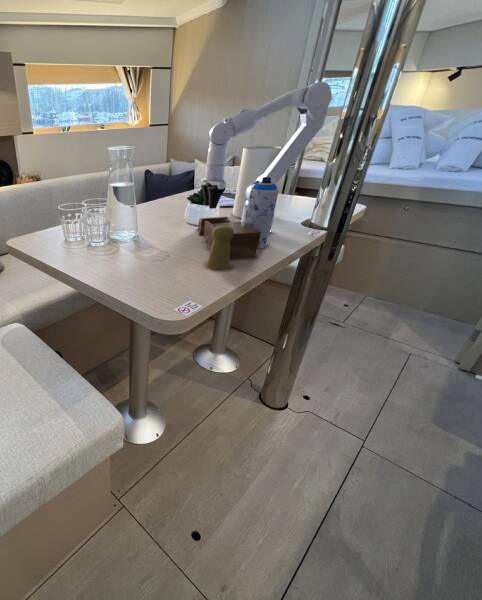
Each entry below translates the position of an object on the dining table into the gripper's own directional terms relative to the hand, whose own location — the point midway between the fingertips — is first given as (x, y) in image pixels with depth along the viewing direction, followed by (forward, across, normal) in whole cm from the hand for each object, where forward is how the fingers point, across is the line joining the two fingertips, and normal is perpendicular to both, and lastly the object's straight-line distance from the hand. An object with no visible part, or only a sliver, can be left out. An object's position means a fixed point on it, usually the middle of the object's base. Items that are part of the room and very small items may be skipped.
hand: (210, 206), depth 110 cm
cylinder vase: (+9, -15, +23) cm, 29 cm away
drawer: (+8, +9, -1) cm, 12 cm away
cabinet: (+8, +22, -2) cm, 24 cm away
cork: (+9, +31, -9) cm, 33 cm away
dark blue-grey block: (+8, 0, 0) cm, 8 cm away
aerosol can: (+9, +16, +8) cm, 20 cm away
